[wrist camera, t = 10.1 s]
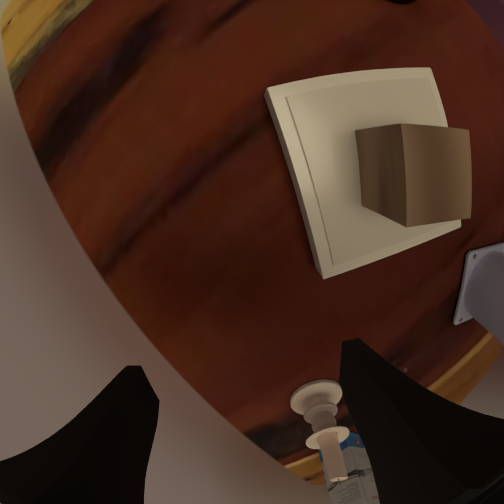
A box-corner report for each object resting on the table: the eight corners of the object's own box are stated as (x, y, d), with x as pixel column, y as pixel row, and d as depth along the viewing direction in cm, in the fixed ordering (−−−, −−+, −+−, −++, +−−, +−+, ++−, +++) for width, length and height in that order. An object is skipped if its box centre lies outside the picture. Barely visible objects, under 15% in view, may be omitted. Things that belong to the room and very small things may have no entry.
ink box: (315, 447, 28) (332, 522, 17) (345, 428, 27) (370, 507, 15) (352, 455, 30) (372, 517, 19) (379, 438, 29) (404, 501, 18)
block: (415, 131, 14) (468, 130, 9) (420, 199, 15) (470, 218, 11) (354, 130, 14) (400, 123, 9) (361, 205, 15) (406, 227, 11)
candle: (311, 416, 25) (331, 498, 15) (278, 400, 24) (293, 493, 14) (350, 390, 24) (383, 473, 14) (320, 370, 23) (353, 467, 13)
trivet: (415, 73, 14) (432, 67, 12) (445, 220, 18) (463, 227, 16) (264, 95, 15) (267, 86, 13) (315, 267, 19) (324, 281, 17)
